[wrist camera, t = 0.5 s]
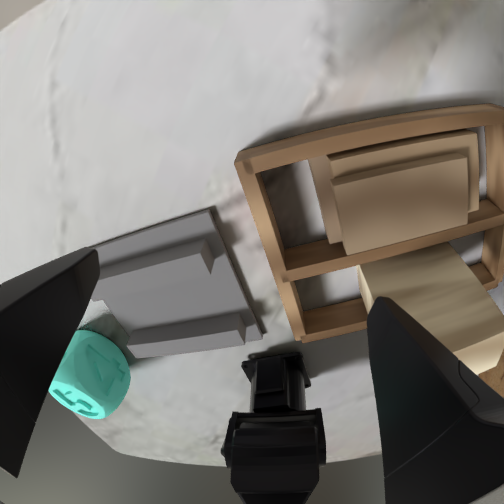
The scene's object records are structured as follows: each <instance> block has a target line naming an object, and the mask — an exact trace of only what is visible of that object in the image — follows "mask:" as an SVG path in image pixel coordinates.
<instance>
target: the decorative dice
mask: <svg viewBox="0 0 504 504" xmlns="http://www.w3.org/2000/svg"><path fill="white" fill-rule="evenodd" d="M130 379H131V377H130V370H129V366H128V363H127V361H126V358H125V356H124V355H123V353H122V352H121V350H120V349H119V348H118V347H117V346H116V345H115V344H114V343H113V342H112V341H110V340H109V339H107V338H106V337H104V336H102V335H100V334H98V333H96V332H93V331H88V330H77V331H76V332H75V334H74V336H73V338H72V340H71V342H70V344H69V346H68V348H67V350H66V352H65V354H64V356H63V359H62V361H61V363H60V365H59V367H58V370H57V372H56V374H55V376H54V379H53V381H52V383H51V386H50V388H49V392H50V393H51V395H52V396H53V397H54V398H55V399H56V400H57V401H59V402H60V403H61V404H62V405H64V406H65V407H67V408H69V409H70V410H72V411H74V412H76V413H78V414H80V415H82V416H85V417H89V418H93V419H102V418H105V417H107V416H109V415H110V414H111V413H113V412H114V411H115V410H116V409H117V407H118V406H119V405H120V403H121V402H122V400H123V399H124V397H125V395H126V393H127V391H128V388H129V385H130Z"/></svg>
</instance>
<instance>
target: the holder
mask: <svg viewBox="0 0 504 504" xmlns="http://www.w3.org/2000/svg"><path fill="white" fill-rule="evenodd" d="M91 248H94V249H96V250H97V251H98V256H99V264H100V277H99V280H98V282H97V284H96V287H95V289H94V291H93V294H92V296H91V299H92V300H93V302H94V301H99V300H103V301H104V302H105V304H106V305H107V307H108V308H109V309H110V311H111V312H112V314H113V315H114V317H115V318H116V319H117V321H118V322H119V324H120V325H121V326H122V328H123V329H124V330H125V332H126V333H127V334H128V336H129V337H130V338H129V340H128V343H127V345H126V346H127V348H128V349H129V350H130V351H131V353H132V354H133V355H134V356H135V358H147V357H157V356H167V355H176V354H184V353H192V352H200V351H207V350H214V349H221V348H227V347H234V346H240V345H245V342H250V341H256V340H261V339H263V334H262V332H261V330H260V327H259V325H258V323H257V321H256V318H255V316H254V314H253V311H252V309H251V307H250V304H249V302H248V300H247V297H246V295H245V293H244V290H243V288H242V286H241V283H240V281H239V279H238V276H237V274H236V271H235V269H234V267H233V264H232V262H231V260H230V257H229V255H228V252H227V250H226V248H225V245H224V243H223V240H222V238H221V236H220V233H219V231H218V228H217V226H216V224H215V221H214V219H213V216H212V214H211V211H210V209H207V210H204V211H201V212H197V213H194V214H191V215H188V216H184V217H181V218H178V219H175V220H172V221H168V222H165V223H162V224H159V225H156V226H153V227H150V228H147V229H144V230H141V231H138V232H135V233H132V234H129V235H126V236H123V237H120V238H117V239H114V240H111V241H108V242H105V243H103V244H100V245H97V246H94V247H91Z"/></svg>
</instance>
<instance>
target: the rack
mask: <svg viewBox="0 0 504 504" xmlns="http://www.w3.org/2000/svg"><path fill="white" fill-rule="evenodd" d="M478 126H484V127H485V140H486V161H487V198H486V199H484V200H480V201H479V210H476V211H472V212H469V213H468V222H467V224H465V225H461V226H458V227H454V228H451V229H447V230H443V231H440V232H436V233H432V234H428V235H425V236H421V237H417V238H413V239H410V240H406V241H402V242H398V243H394V244H391V245H387V246H383V247H379V248H375V249H371V250H367V251H363V252H359V253H355V254H351V255H347V254H346V251H345V249H344V246H343V241H341V242H336V243H332V244H330V243H329V240H328V239H324V240H320V241H316V242H312V243H308V244H304V245H300V246H296V247H292V248H288V249H284V246H283V242H282V239H281V236H280V233H279V229H278V226H277V223H276V220H275V217H274V213H273V210H272V207H271V204H270V201H269V198H268V195H267V192H266V188H265V185H264V182H263V179H262V176H261V173H260V172H261V171H265V170H268V169H272V168H276V167H279V166H283V165H287V164H291V163H295V162H298V161H302V160H306V159H310V158H314V157H318V156H323V155H327V154H331V153H335V152H340V151H344V150H348V149H353V148H357V147H362V146H367V145H372V144H376V143H381V142H386V141H391V140H397V139H402V138H407V137H413V136H419V135H424V134H430V133H437V132H443V131H449V130H456V129H463V128H471V127H478ZM234 165H235V168H236V170H237V173H238V176H239V179H240V182H241V184H242V187H243V190H244V193H245V196H246V199H247V201H248V204H249V207H250V210H251V213H252V216H253V218H254V221H255V224H256V227H257V230H258V233H259V236H260V238H261V241H262V244H263V247H264V250H265V253H266V256H267V259H268V262H269V264H270V267H271V270H272V273H273V276H274V279H275V282H276V285H277V288H278V291H279V294H280V296H281V299H282V302H283V305H284V308H285V311H286V314H287V317H288V320H289V323H290V326H291V329H292V332H293V335H294V338H295V341H298V340H301V341H302V343H307V342H312V341H316V340H321V339H325V338H330V337H334V336H339V335H343V334H347V333H351V332H355V331H359V330H363V329H367V316H368V313H367V310H366V307H365V304H364V301H363V298H358V299H354V300H350V301H346V302H342V303H338V304H334V305H330V306H325V307H321V308H317V309H312V310H308V311H303V309H302V306H301V302H300V299H299V296H298V292H297V289H296V285H295V282H294V280H299V279H303V278H307V277H311V276H316V275H320V274H324V273H328V272H332V271H336V270H340V269H344V268H348V267H352V266H356V265H360V264H364V263H368V262H372V261H376V260H380V259H384V258H388V257H391V256H395V255H399V254H403V253H406V252H410V251H414V250H417V249H421V248H425V247H428V246H432V245H436V244H439V243H443V242H446V241H450V240H453V239H457V238H460V237H463V236H467V235H470V234H474V233H477V232H480V231H484V230H485V232H484V242H483V251H482V259H481V263H478V264H475V265H472V266H469V268H470V270H471V271H472V272H473V274H474V275H475V276H476V277H477V279H478V280H479V281H480V283H481V284H482V285H483V287H484V288H485V289H486V291H488V290H490V289H493V288H495V287H497V286H498V283H499V282H502V279H503V274H504V107H501V106H498V105H494V104H491V103H489V104H476V105H464V106H455V107H446V108H437V109H430V110H422V111H416V112H409V113H403V114H396V115H391V116H385V117H379V118H374V119H369V120H363V121H358V122H353V123H349V124H344V125H339V126H335V127H330V128H326V129H322V130H317V131H313V132H309V133H305V134H301V135H297V136H293V137H289V138H286V139H282V140H278V141H274V142H271V143H267V144H264V145H260V146H257V147H253V148H250V149H247V150H243V151H240V152H238V154H237V157H236V159H235V162H234Z"/></svg>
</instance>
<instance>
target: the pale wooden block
mask: <svg viewBox="0 0 504 504" xmlns="http://www.w3.org/2000/svg"><path fill="white" fill-rule="evenodd" d="M356 267H357V274H358V282H359V289H360V292H361V295H362V298H363V301H364V304H365V307H366V310H367V313H369V311H370V309H371V307H372V305H373V303H374V301H375V299H376V298H377V297H378V296H383V297H389V298H391V299H392V300H393V301H394V302H395V303H397V304H398V305H399V306H400V307H401V308H402V309H404V310H405V311H406V312H407V313H408V314H409V315H411V316H412V317H413V318H414V319H415V320H416V321H417V322H419V323H420V324H421V325H422V326H423V327H424V328H425V329H427V330H428V331H429V332H430V333H431V334H432V335H433V336H434V337H436V338H437V339H438V340H439V341H440V342H441V343H442V344H443V345H444V346H445V347H447V348H448V349H449V350H450V351H451V352H452V353H453V354H454V355H455V356H456V357H457V358H458V360H461V361H462V362H463V363H464V364H465V365H466V366H467V367H468V368H469V369H470V370H472V371H473V372H474V373H475V374H476V375H477V374H480V373H482V372H484V371H486V370H489V369H491V368H493V367H495V366H496V365H497V363H498V361H499V359H500V356H501V354H502V352H503V349H504V315H503V314H502V312H501V311H500V309H499V308H498V306H497V305H496V303H495V302H494V301H493V299H492V298H491V296H490V295H489V294H488V292H487V291H486V289H485V288H484V287H483V285H482V284H481V283H480V281H479V280H478V279H477V277H476V276H475V275H474V274H473V272H472V271H471V270H470V268H469V267H468V266H467V265H466V263H465V262H464V261H463V260H462V258H461V257H460V256H459V255H458V254H457V252H456V251H455V250H454V249H453V248H452V246H451V245H450V244H449V243H448V242H447V241H446V242H443V243H439V244H436V245H432V246H428V247H425V248H421V249H417V250H414V251H410V252H406V253H403V254H399V255H395V256H391V257H388V258H384V259H380V260H376V261H372V262H368V263H364V264H360V265H356Z"/></svg>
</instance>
